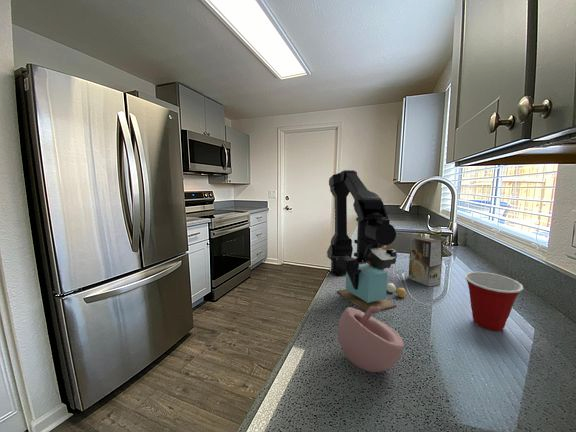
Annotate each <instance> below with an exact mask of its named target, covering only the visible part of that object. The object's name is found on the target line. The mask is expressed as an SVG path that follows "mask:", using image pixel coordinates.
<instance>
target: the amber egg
mask: <svg viewBox="0 0 576 432" xmlns="http://www.w3.org/2000/svg"><path fill="white" fill-rule="evenodd" d="M395 294H396V296H397V297H399V298H404V297H406V296H407V291H406V289H405V288H403V287H398V288H396V290H395Z"/></svg>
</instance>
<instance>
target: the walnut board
mask: <svg viewBox="0 0 576 432" xmlns="http://www.w3.org/2000/svg"><path fill="white" fill-rule="evenodd" d="M336 293H338V294H339V295H340V296H342V297H344V298H345V299H346V300H348V301H349V302H350V303H352V304H354V305H355V306H357V307H358V308H360V309H362V310H363V312H365V313H366V312H367V310H368V309H369V308H370V307H371V306H373V307H380V308H381V310H380V312H383V311H386V310H391V309H393V308H397V304H396V303H393V302H391V301H390V300H388V299H387V298H386V299H381V300H377V301H373V302H369V303H367V302H366V301H364V300H362V299H361V298H359V297H357V296H356V295H354V294H353V293H351V292H349V291H348V290H346V288H344V289H343V288H342V289H340V290H339V289H338V290H336Z"/></svg>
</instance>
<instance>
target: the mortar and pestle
mask: <svg viewBox="0 0 576 432" xmlns="http://www.w3.org/2000/svg"><path fill="white" fill-rule="evenodd" d="M380 310H381V308H380V307H373V306H371V307H370V308H369V309H368V310H367V312H366V311H362V310H360V309H357V308H354V307H349V306H348V307H346V308H345V309H344V311H343V313H342V314H341V316H340V318H339V319H338V324H337V339H338V343H339V346H340V348H341V350H342V352H343V354H344V355H345V357H346V358H347V359H348V360H349V361H350V362H351V364H353V365H354V366H356V367H358V368H359V369H361V370H364V371H367V372H370V373H381V372H386V371H387V370H391V369H392V368H393V367H394V366H395V365H396V364H398V362H399V360H400V359H401V357H402V355H403V353H404V350H405V349H404V348H405V342H404V340H403V338H402V336H400V334H399V333H398V332H397V331H396V330H395V329H394V328H393V327H391V326H389V325H388V324H386V323H384V322H383V321H380V320H379V319H378V318H375V317H374V316H373V315H374V314H375V313H380V312H381V311H380Z"/></svg>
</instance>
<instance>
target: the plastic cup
mask: <svg viewBox="0 0 576 432" xmlns="http://www.w3.org/2000/svg"><path fill="white" fill-rule="evenodd" d="M464 278H465V279H466V282H467V286H468V290H469V300H470V308H471V313H472V320H473V323H474V324H475V325H476V326H479V327H481V328H482V329H484V330H489V331H491V332H492V331H493V332H494V331H495V332H501V331H503V330H504V328H505V326H506V324H507V321H508V319H509V317H510V315H511V311H512V308H513V306H514V304H515V301H516V299H517V297H518V295H519V293H520V292H522V291H523V290H524V286H523V284H522V283H520V282H519V281H518V280H515V279H513V278H510V277H508V276H505V275H501V274H498V273H493V272H492V273H491V272H487V271H469V272H467V273H465V276H464Z"/></svg>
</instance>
